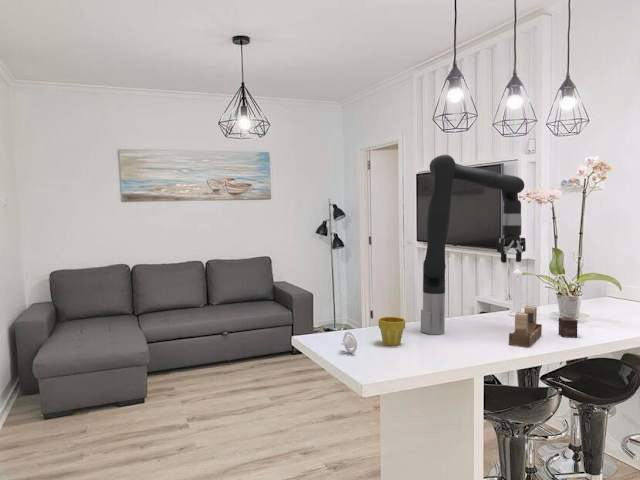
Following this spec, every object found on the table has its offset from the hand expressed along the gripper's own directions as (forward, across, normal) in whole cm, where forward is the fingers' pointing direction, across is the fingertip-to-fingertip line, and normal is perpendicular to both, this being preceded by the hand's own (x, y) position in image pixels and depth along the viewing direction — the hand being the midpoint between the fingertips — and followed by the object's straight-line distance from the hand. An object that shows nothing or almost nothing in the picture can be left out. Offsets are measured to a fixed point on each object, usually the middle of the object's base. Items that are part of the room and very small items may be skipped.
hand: (511, 262), depth 219 cm
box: (+30, +16, -16) cm, 38 cm away
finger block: (+29, -12, -17) cm, 36 cm away
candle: (+30, +30, +24) cm, 49 cm away
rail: (+30, -5, -13) cm, 33 cm away
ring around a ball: (+30, -79, +2) cm, 85 cm away
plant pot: (+30, -57, +6) cm, 65 cm away
